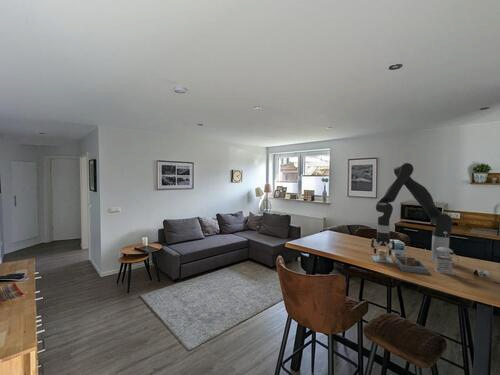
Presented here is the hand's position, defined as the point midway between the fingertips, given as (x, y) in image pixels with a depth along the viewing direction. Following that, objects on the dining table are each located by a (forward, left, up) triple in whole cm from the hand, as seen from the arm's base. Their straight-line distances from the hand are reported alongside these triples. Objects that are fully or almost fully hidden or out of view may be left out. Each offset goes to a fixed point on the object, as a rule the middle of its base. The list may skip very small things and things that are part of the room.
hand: (382, 254), depth 165 cm
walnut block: (-14, +8, -3) cm, 17 cm away
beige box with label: (0, 0, -3) cm, 3 cm away
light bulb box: (-11, -15, -4) cm, 19 cm away
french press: (-32, +10, -4) cm, 34 cm away
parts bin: (-14, +11, -4) cm, 19 cm away
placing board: (0, 0, -4) cm, 4 cm away
